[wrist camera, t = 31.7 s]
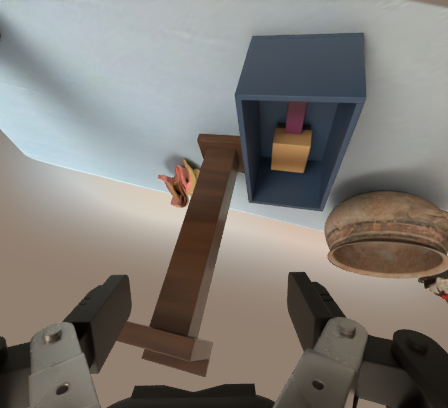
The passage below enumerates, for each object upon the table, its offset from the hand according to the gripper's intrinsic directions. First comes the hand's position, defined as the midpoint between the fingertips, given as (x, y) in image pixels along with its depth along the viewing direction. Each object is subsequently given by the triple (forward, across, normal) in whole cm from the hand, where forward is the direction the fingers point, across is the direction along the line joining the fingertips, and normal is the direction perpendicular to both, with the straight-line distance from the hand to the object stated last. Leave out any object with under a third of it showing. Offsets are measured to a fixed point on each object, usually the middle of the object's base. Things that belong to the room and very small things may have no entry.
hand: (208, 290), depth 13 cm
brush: (+26, -11, -10) cm, 30 cm away
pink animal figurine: (+44, +8, -2) cm, 45 cm away
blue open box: (+26, -11, -11) cm, 30 cm away
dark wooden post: (+35, -1, -7) cm, 36 cm away
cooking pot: (+36, -30, +4) cm, 48 cm away
